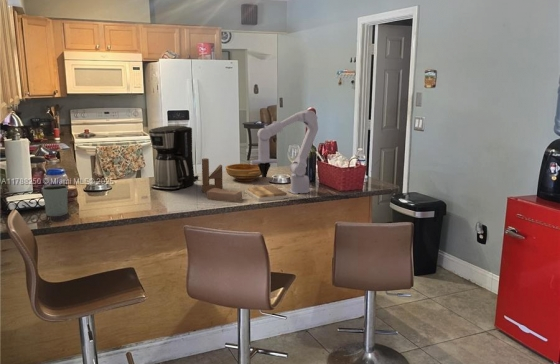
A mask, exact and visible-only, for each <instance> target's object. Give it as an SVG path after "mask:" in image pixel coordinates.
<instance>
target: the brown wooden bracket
mask: <svg viewBox="0 0 560 364" xmlns="http://www.w3.org/2000/svg"><path fill="white" fill-rule="evenodd" d="M209 160H210V159H209V158H202V159H201V177H202V185H201V192H202V193H207V191H209V190H211V189H212V188H219V189H224V187H223V165H222V164H219V165H218V166H217V167H216V168H215V169H214V171H212V172H211V174H210V165H209V164H210V161H209ZM210 180H213V181H214V183H211V184H210Z"/></svg>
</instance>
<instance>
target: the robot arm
mask: <svg viewBox="0 0 560 364" xmlns="http://www.w3.org/2000/svg"><path fill="white" fill-rule="evenodd" d="M296 122H303V124H304V125H305V127H306V129H307V130H306V131H305V132H306V133H305V136H304V138H303V141H302V144H301V146H300V149H299V151H298V154H297V156H296V158H294V159H293V162H292V163H291V164H290V166H289V171H290V172H291V175H290V189H288V190H287V191H288V193H290V194H293V195H299V194H298V193H300V194H309V193H308V192H310V177H309V176H308V175H306V173H307V168H306V167H307V164H308V163H307V160H308V157H309V154H310V152H311V150H312V146H313V144H314V141H315V138H316V136H317V133H318V131H319V126H318V116H317V114H316V113H315V111H313V110H308V109H302V110H301V111H298V112H296V113H294V114H292V115H291V116H289V117H287V118H285V119H284V120H281V121H279V120H278V121H277V120H276V121H274V120H273V121H272V123H270V124H269V125H265V126H264V127H263V128H259V129H258V131H257V134H256V135H257V138H258V144H257V145H258V147H257V148H258V152H257V153H258V159H254V160H250V163H249V164H251V165H254V164H258V167H259V169H260V171H261V177H262V179H265V178H267V176H268V172H269V170H270V168H271V164H278V159H277V158H270V139H271V137H273V136H275V135H277V134H279V133H281V132H282V131H283V130H284V128H286V127H287V126H290V125H292V124H294V123H296Z"/></svg>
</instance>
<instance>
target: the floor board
mask: <svg viewBox="0 0 560 364" xmlns="http://www.w3.org/2000/svg"><path fill="white" fill-rule="evenodd" d="M261 187H263V188H265V189H267V190H269V191H270V192H272V193H274V196H271V197H261V198H259V197H258V196H256V195H255V194H253V193H252V192H250V191H248V189H245V190H244V191H245V194H247V195H248V196H250V197H251V198H253V199H254V200H255V201H258V202H263V201H265V202H266V201H275V199H277V200H285V199H284V198H287V199H288V198H289V195H288V194H287V193H288V192H286V191H284V190H282V189H280V188H279V187H276V186H275V185H265V186H261Z"/></svg>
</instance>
